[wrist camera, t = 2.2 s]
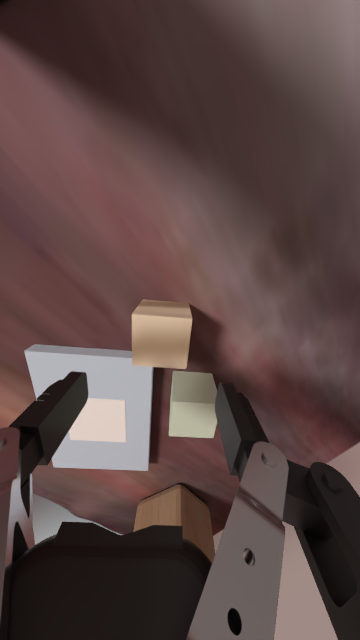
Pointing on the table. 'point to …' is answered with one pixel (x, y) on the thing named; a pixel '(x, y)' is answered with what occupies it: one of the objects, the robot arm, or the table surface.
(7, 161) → the table surface
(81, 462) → the board
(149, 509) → the wooden block
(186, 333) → the maple block
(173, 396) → the sage cap block
